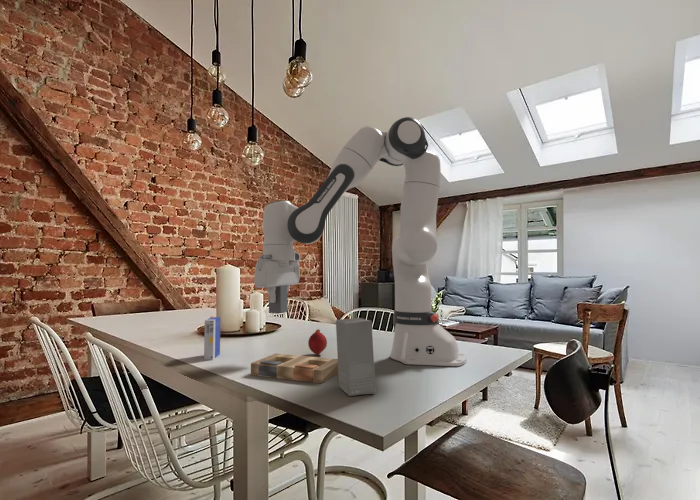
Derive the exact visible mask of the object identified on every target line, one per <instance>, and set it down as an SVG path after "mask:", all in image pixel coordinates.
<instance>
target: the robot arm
mask: <svg viewBox="0 0 700 500" xmlns="http://www.w3.org/2000/svg"><path fill="white" fill-rule="evenodd" d="M428 147H429V143H428V140H427V137H426V133H425V129H424V127H423V125H422V123H421V122H420V121H419V120H418V119H416V118H414V117H409V116H406V117H401V118H399V119H397V120H396V121H394V122H393V123H392V124H391V126H390V128H389V129H388V130H387V132H386V131H381V130H379V129H378V128H377V127H374V126H370V125H365V126H363V127H361V128H360V129H359V130H357V132H356V133H354V135H352V136H351V138H350V139H349V140H348V141H347V142H346V143H345V144H344V145H343V147H342V149H341V150H340V151H339V153H338V154H337V156H336V158H335V160H334V161H333V164H332V165H331V168H330V170H329V173H328V175H327V178H326V179H325V180H324V182H322V184H321V186H320V187H319V188H318V189H317V191H316V192H315V193H314V195H313V196H312V197H311V198H310V199H309V201H308V202H306V203H304V204H303V205H301V206H299V207H298V206H296V205H295V204H293V203H291V202H290V201H289V200H284V199H283V200H275V201H271V202H269V203H268V204H267V205H266V206H265V207H264V210H263V216H262V233H263V242H262V254H260V255H259V257H258V258H257V261H256V263H255V268H254V277H253V279H254V280H253V281H254V282H253V283H254V287H255V288H258V289H262V288H263V289H265V288H266V292H267V294H268V297H269V296H270V303H275V302H277V296H276V294H275V291H276V287H277V286H282V285H287V292H288V293H289V289H290V286H294V285H295V286H297V285H298V284H299V283H300V279H301V278H300V276H301V273H300V271H301V270H300V269H301V267H300V266H301V265H300V261H301V254H300V253H298V252H297V251H296V250H295V249H294V246H293V245H294V242H296V243H300V244H303V245H304V244H305V245H311V244H314V243H316V242H318V241H319V239H321V237H322V235H323V232H324V230H325V227H326V226H325V225H326V221H327V217H328V216H329V214H330V212H331V210H332V209H333V208H334V207H335V205H336V204H337V203H338V201H339V200H340V199H341V197H342V196H343V194H345V193H346V192H347V191H348V190H350V189H353V188H356V187H357V186H359V185H360V184H361V183H362V182H363V181H364V180H365V179H366V178H367V177H368V175H369V174H370V173H371V172H372V170H373V169H374V167H375V166H376V164H377V163H378V162H383V163H385V164H387V165H389V166H393V167H400V166H403V167H404V170H405V171H404V172H405V173H404V174H405V176H404V181H403V182H404V183H403V187H402V196H401V201H400V202H401V203H400V209H399V211H400V223H399V224H400V226H399V227H400V228H399V235H397V236H396V238H394V240H393V242H392V246H391V251H392V265H393V277H394V278H393V279H394V301H395V302H394V310H393V317H392V319H393V321H392V322H393V329H394V331H393V332H394V333H393V342H392V346H391V347H392V348H391V351H390V355H389V358H391V359H392V360H394V361H398V362H401V363H402V364H404V365H416V366H417V365H418V366H441V367H460V366H463V365H464V364H465V363H466V362H467V357H466V355H465V354H463V353H461V352H459V347H458V342H457V339H456V337H455V336H453V335H452V334H451V333H450V332H449V331H448V330H446V329H445V328H443V326H441V325H440V324H439V319H440V318H439V313H436V312H434V311H432V309H433V308H432V283H431V280H430V274H429V268H428V263H429V262H430V261H431V260H432V259H433V258H434V256H435V255H436V253H437V250H438V242H437V210H438V209H437V208H438V201H439V195H440V194H439V193H440V187H441V186H440V185H441V174H442V172H441V159H440V157H439V155H437V153H435V152H433V151H431V150H427V149H428Z"/></svg>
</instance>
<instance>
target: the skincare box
mask: <svg viewBox="0 0 700 500" xmlns="http://www.w3.org/2000/svg"><path fill="white" fill-rule="evenodd" d="M372 325H373V323H372V320H369V319H365V318H362V317H355V318H354V317H353V318H343V319H341V318H340V319H336V320H335V331H336V350H337V351H336V352H337V359H338V373H337V374H338V387H339V388H340V389H341V390H342V391H344V393H345V394H346V395H348V396H349V397H352V396H360V395H373V394H376V393H377V390H376V388H377V387H376V373H375V360H374V359H375V358H374V342H373V340H374V339H373V326H372Z"/></svg>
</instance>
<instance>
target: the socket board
mask: <svg viewBox="0 0 700 500" xmlns="http://www.w3.org/2000/svg"><path fill="white" fill-rule="evenodd" d="M336 374H338V358H329V357H328V358H327V357H319V356H306V355H297V354H286V353H273V354H271V355H268V356H265V357H263V358H260V359H258V360H256V361H253V362H251V363H250V376H255V375H256V376H255V377H263V376H264V377H265V378H273V379H280V380H281V379H283V380H291V381H299V382H310V383H315V384H324V383H325V382H326V381H328V380H329V379H331V378H332V377H334V376H335V375H336Z"/></svg>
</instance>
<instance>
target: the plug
mask: <svg viewBox="0 0 700 500" xmlns="http://www.w3.org/2000/svg"><path fill="white" fill-rule="evenodd" d="M288 293H289V291H288V292H287V285H282V286H277V287H276V291H275V294H276V296H277V302H275V303H270V296H269V295H268V313H269V314H284V313H287V312H288V311H289V310H288V305H289V304H288V301H289V300H288V299H289V298H288V297H289V296H288V295H289V294H288Z"/></svg>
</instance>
